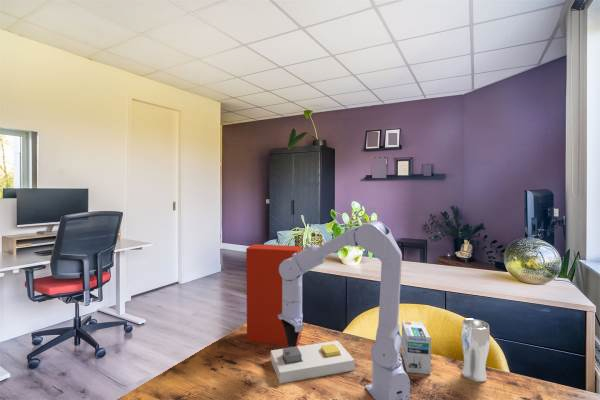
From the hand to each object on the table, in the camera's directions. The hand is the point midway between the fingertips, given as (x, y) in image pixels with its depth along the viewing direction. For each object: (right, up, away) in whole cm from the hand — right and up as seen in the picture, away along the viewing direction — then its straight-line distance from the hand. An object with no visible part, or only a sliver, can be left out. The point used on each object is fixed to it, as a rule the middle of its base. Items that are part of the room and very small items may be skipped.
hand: (291, 345), depth 93 cm
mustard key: (+12, -6, +4) cm, 13 cm away
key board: (+6, -7, +2) cm, 9 cm away
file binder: (-6, -6, +18) cm, 20 cm away
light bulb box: (+37, -7, +3) cm, 38 cm away
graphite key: (0, -5, 0) cm, 5 cm away
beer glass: (+51, -7, -3) cm, 52 cm away
